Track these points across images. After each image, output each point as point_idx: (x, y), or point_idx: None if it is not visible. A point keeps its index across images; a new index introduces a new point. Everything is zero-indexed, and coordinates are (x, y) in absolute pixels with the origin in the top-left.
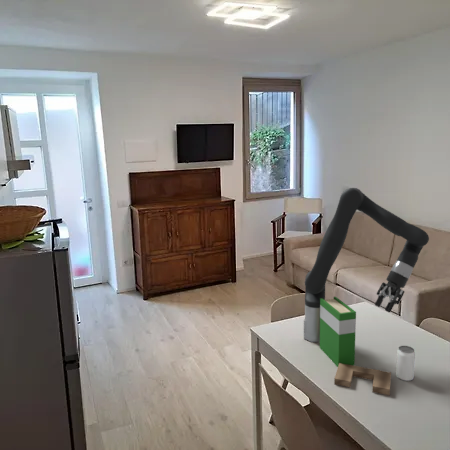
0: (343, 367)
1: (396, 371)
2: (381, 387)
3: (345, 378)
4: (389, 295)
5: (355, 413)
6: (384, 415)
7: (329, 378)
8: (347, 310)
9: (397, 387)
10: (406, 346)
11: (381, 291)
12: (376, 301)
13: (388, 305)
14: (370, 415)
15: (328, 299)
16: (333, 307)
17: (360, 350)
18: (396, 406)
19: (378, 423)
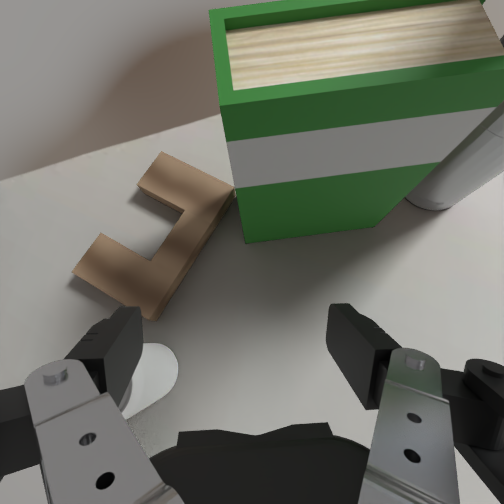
0: (207, 190)
1: (154, 343)
2: (86, 253)
3: (154, 177)
4: (81, 410)
5: (51, 170)
6: (22, 228)
7: (194, 158)
8: (282, 82)
9: (109, 317)
10: (124, 406)
11: (424, 400)
12: (355, 317)
13: (98, 340)
14: (33, 198)
15: (491, 27)
16: (320, 5)
17: (333, 299)
18: (39, 271)
19: (4, 203)
